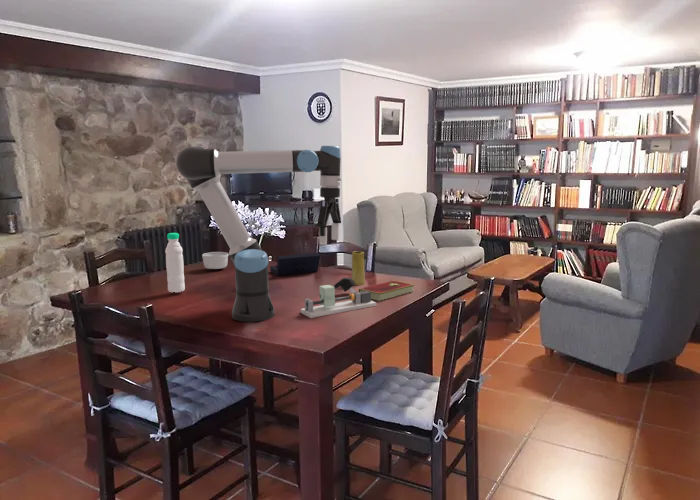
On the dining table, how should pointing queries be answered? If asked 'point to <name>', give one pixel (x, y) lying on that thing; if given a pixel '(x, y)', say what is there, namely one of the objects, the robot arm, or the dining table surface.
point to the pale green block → (327, 295)
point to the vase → (358, 268)
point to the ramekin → (215, 260)
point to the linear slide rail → (338, 305)
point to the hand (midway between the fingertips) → (329, 242)
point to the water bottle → (174, 264)
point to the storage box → (296, 264)
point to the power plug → (345, 284)
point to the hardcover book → (388, 289)
